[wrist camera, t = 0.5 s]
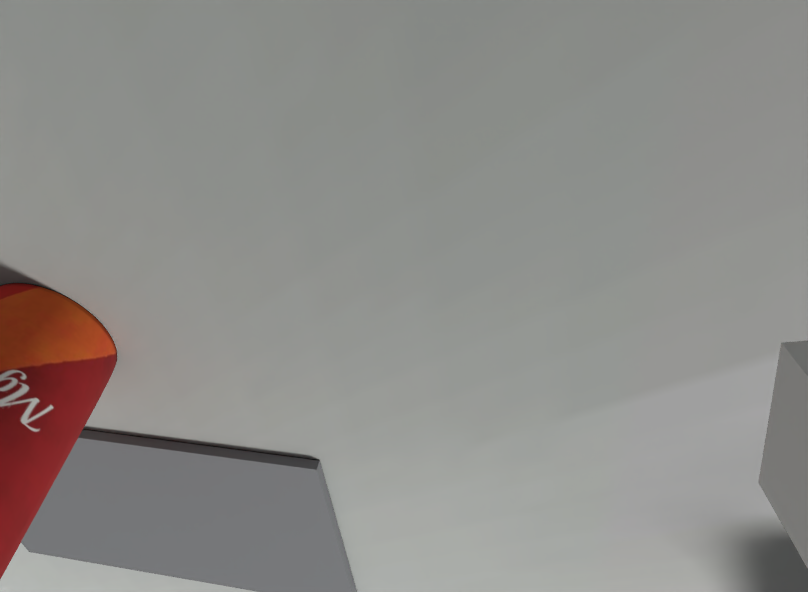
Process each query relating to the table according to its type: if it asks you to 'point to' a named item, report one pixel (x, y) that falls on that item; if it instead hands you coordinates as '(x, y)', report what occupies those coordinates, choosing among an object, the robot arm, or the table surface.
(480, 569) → the table surface
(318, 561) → the mat
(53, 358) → the coffee cup
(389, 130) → the table surface
